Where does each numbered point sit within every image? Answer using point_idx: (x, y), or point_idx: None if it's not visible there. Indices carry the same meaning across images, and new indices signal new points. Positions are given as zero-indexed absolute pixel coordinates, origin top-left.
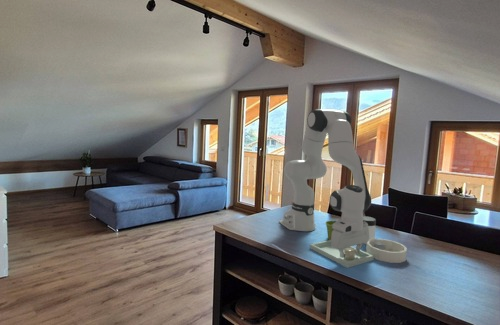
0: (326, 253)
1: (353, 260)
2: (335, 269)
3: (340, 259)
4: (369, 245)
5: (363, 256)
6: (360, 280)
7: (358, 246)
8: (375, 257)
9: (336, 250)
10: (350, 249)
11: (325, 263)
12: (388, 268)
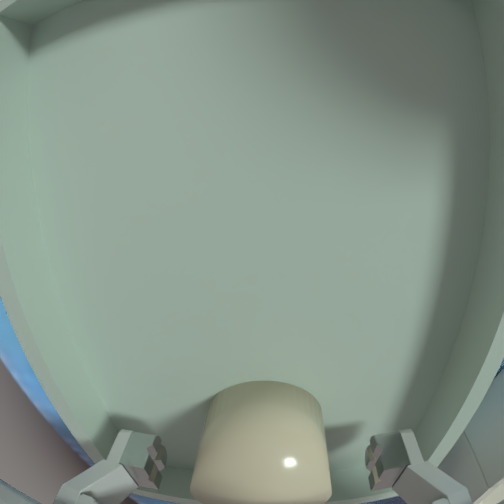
0: (14, 310)
1: (187, 500)
2: (57, 420)
3: (88, 455)
4: None
5: (419, 428)
6: (135, 499)
7: (422, 498)
8: (445, 459)
9: (311, 185)
10: (289, 495)
11: (18, 345)
12: (375, 501)
